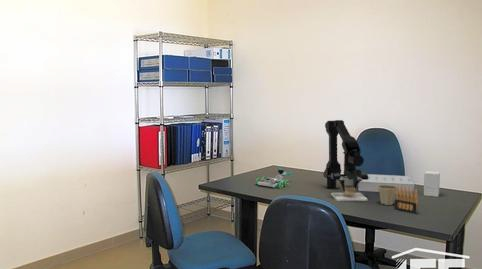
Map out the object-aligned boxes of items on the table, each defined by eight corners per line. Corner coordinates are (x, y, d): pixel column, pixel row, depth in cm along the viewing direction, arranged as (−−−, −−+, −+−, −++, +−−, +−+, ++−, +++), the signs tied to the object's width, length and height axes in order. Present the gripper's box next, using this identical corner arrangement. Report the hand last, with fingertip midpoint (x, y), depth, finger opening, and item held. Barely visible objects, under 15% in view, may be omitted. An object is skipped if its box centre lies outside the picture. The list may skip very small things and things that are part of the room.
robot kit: (299, 183, 260) (299, 168, 259) (277, 190, 241) (278, 174, 240) (274, 179, 272) (274, 165, 271) (251, 186, 252) (251, 171, 251)
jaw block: (342, 192, 227) (342, 185, 226) (351, 192, 227) (351, 185, 226) (345, 195, 220) (346, 188, 219) (355, 195, 220) (355, 188, 219)
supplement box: (439, 194, 231) (440, 171, 229) (438, 197, 224) (439, 174, 223) (424, 192, 234) (425, 170, 233) (423, 195, 228) (424, 172, 227)
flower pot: (373, 202, 214) (373, 185, 213) (388, 200, 217) (388, 184, 216) (385, 206, 205) (386, 189, 204) (400, 205, 208) (401, 188, 207)
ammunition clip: (417, 213, 194) (419, 188, 193) (416, 214, 193) (417, 188, 192) (395, 208, 202) (396, 184, 200) (394, 209, 200) (395, 185, 199)
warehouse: (358, 191, 239) (358, 178, 238) (357, 186, 253) (358, 173, 252) (414, 194, 232) (414, 181, 231) (410, 188, 246) (411, 176, 245)
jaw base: (331, 194, 230) (331, 187, 229) (360, 194, 230) (360, 187, 230) (336, 200, 217) (336, 193, 216) (367, 200, 217) (367, 193, 217)
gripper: (335, 165, 213) (335, 195, 215) (372, 165, 214) (371, 195, 215) (330, 162, 225) (330, 190, 226) (365, 162, 225) (364, 190, 226)
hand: (348, 191), depth 223 cm, fingers closed on jaw block, 5 cm apart
